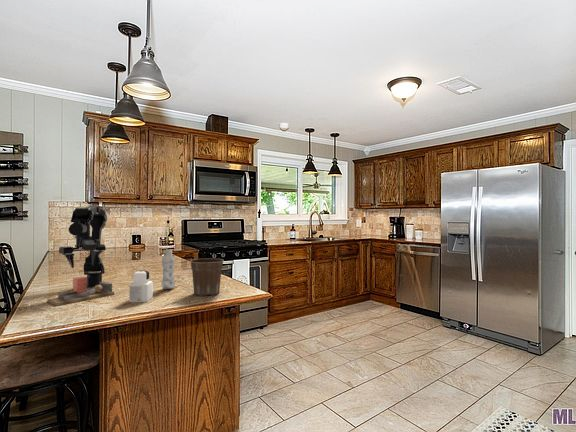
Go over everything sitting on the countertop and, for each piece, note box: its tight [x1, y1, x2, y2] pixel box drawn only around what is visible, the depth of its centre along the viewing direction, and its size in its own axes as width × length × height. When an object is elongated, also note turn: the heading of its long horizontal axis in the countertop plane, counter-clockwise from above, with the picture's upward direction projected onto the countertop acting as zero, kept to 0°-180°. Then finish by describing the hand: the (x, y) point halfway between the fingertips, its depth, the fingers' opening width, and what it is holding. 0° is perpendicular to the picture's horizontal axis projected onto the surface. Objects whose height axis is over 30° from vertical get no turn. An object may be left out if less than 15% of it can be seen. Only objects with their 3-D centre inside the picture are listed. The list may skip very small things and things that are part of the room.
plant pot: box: [189, 257, 225, 297], centre depth 165 cm, size 16×16×16 cm
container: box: [128, 269, 154, 303], centre depth 151 cm, size 8×8×13 cm
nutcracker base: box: [46, 280, 115, 307], centre depth 153 cm, size 24×10×5 cm, turn 146°
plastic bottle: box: [161, 249, 176, 290], centre depth 172 cm, size 6×7×20 cm
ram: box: [72, 276, 95, 295], centre depth 154 cm, size 8×4×8 cm, turn 146°
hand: (83, 266), depth 161 cm, fingers open, 9 cm apart
